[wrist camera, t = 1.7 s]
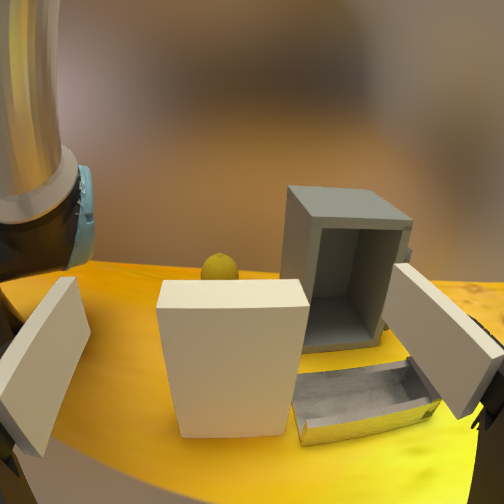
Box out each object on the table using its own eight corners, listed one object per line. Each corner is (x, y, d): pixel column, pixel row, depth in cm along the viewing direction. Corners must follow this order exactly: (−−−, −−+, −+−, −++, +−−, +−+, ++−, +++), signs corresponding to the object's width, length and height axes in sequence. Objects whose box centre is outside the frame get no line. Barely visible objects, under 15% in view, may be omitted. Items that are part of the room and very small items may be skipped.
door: (181, 437, 27) (155, 308, 20) (183, 407, 30) (164, 277, 23) (283, 434, 28) (309, 305, 21) (278, 405, 31) (297, 276, 24)
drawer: (301, 446, 26) (308, 425, 25) (289, 395, 33) (294, 371, 31) (428, 419, 28) (443, 397, 26) (406, 378, 34) (417, 355, 32)
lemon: (244, 304, 48) (246, 257, 45) (211, 315, 45) (210, 265, 42) (227, 287, 52) (227, 242, 49) (195, 296, 50) (193, 249, 46)
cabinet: (292, 354, 39) (312, 216, 31) (277, 300, 49) (287, 185, 42) (384, 345, 40) (421, 221, 32) (355, 297, 51) (376, 190, 43)
